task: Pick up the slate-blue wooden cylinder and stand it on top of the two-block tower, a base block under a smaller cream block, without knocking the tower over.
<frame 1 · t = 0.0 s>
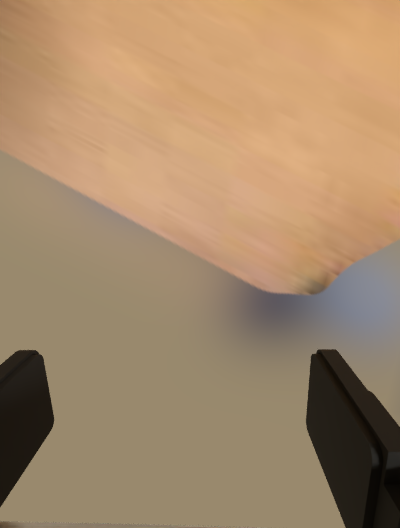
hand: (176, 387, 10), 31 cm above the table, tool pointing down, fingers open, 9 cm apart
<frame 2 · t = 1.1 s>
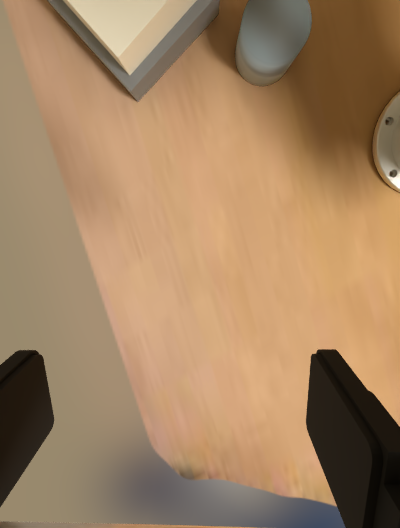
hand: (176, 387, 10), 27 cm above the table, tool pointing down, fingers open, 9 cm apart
tower bottom: (137, 14, 31), on the table, touching tower top
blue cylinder: (263, 54, 31), on the table
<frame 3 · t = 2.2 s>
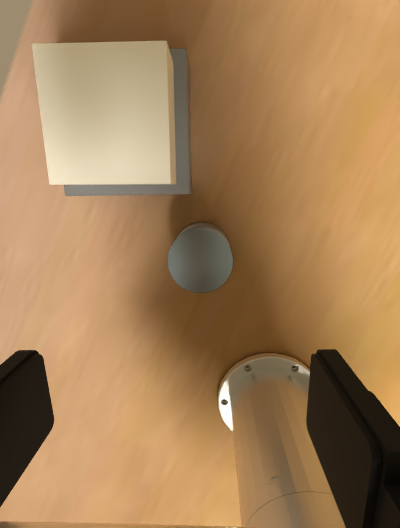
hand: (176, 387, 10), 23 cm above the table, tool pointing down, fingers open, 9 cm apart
tower bottom: (133, 134, 30), on the table
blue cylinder: (202, 248, 33), on the table
tower top: (119, 127, 27), point 3 cm above the table
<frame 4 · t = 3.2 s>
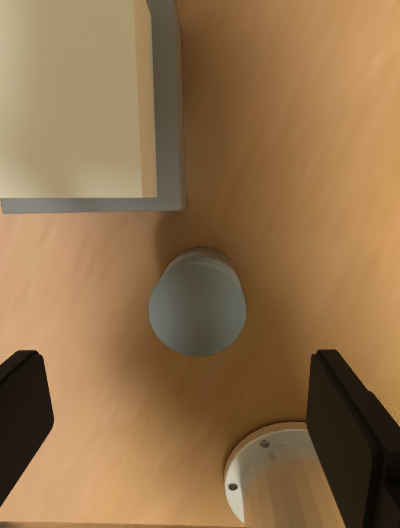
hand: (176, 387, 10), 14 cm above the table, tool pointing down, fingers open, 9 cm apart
tower bottom: (104, 127, 22), on the table, touching tower top
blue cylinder: (201, 283, 24), on the table
tower top: (73, 113, 18), point 3 cm above the table, touching tower bottom
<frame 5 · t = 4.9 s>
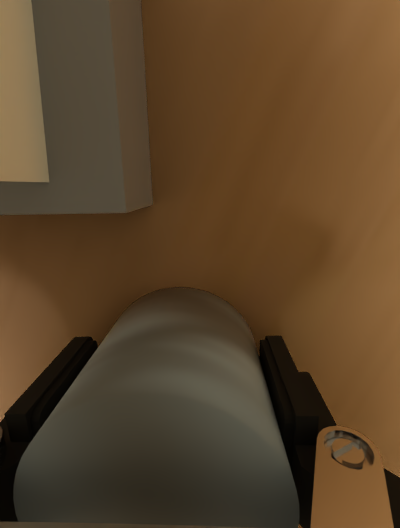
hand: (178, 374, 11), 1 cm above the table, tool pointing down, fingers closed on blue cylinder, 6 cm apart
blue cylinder: (182, 357, 12), on the table, touching gripper
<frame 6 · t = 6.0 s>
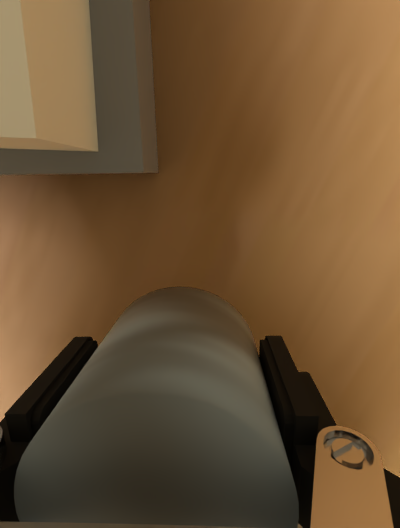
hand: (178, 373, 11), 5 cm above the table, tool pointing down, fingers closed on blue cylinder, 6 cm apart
tower bottom: (15, 31, 13), on the table, touching tower top
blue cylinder: (182, 356, 12), point 4 cm above the table, touching gripper
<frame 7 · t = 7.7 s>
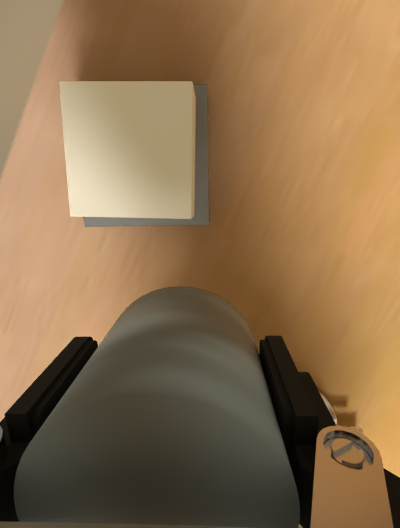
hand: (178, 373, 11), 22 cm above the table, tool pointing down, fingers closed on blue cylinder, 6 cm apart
tower bottom: (151, 164, 31), on the table, touching tower top
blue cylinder: (182, 356, 12), point 21 cm above the table, touching gripper
tower top: (140, 158, 27), point 3 cm above the table, touching tower bottom
when the fingers open (10 cm above the table, at t = 10.9 s): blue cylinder drops 1 cm, resting on tower top.
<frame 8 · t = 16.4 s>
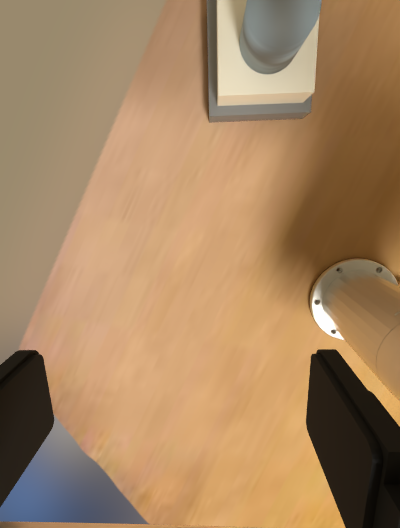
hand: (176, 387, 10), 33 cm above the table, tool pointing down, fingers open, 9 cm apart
tower bottom: (255, 70, 37), on the table, touching tower top
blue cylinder: (269, 40, 30), point 7 cm above the table, touching tower top
tower top: (261, 55, 33), point 3 cm above the table, touching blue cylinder, tower bottom
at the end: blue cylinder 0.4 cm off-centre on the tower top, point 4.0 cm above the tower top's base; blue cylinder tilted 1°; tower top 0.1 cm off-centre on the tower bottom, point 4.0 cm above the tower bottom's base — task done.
